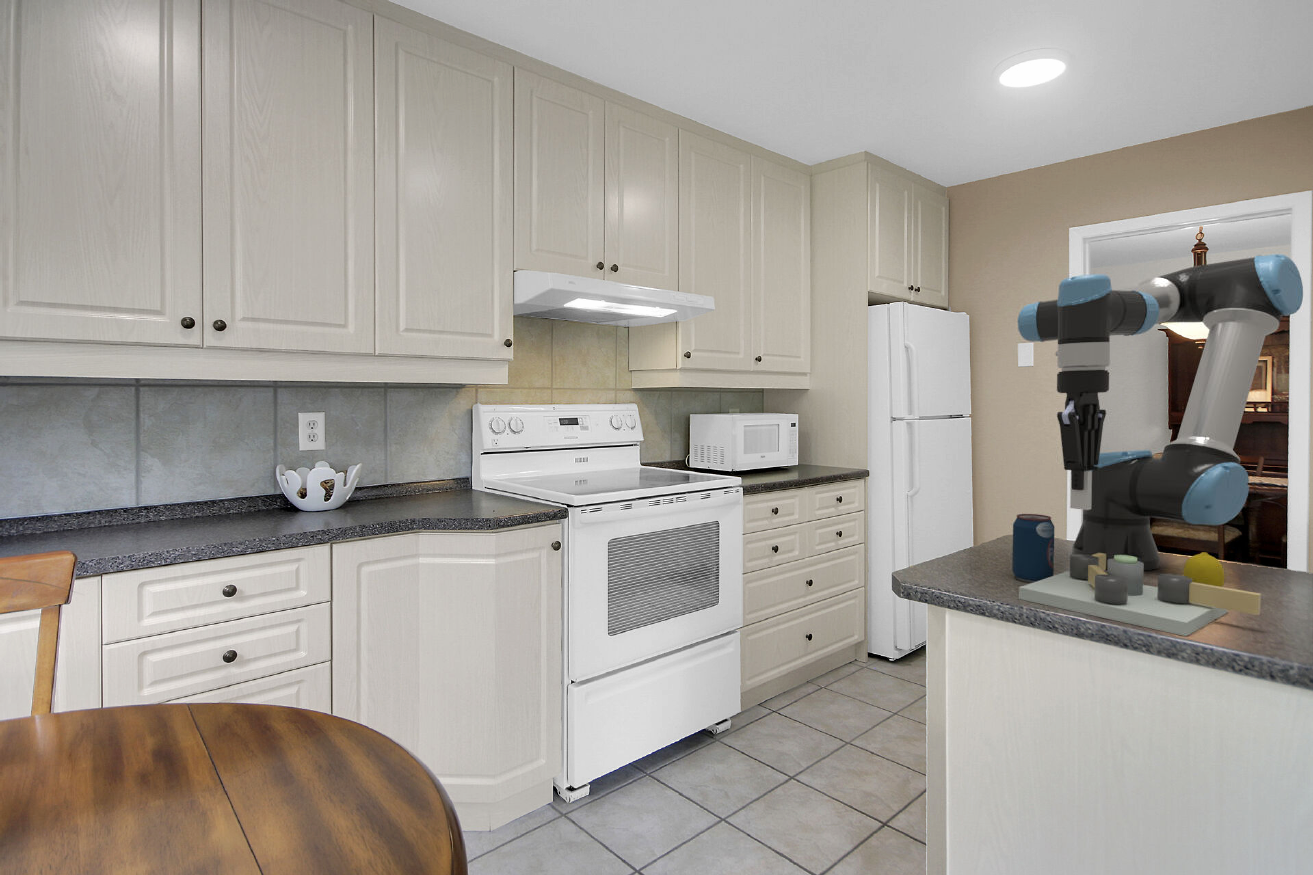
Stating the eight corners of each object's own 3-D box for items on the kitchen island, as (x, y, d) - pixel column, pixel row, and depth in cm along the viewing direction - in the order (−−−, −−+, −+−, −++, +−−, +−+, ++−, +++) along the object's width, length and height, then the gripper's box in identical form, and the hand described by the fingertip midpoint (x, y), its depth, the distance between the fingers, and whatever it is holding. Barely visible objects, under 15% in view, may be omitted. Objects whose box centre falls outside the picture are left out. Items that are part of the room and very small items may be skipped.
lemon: (1231, 604, 116) (1232, 556, 116) (1193, 602, 117) (1194, 555, 117) (1212, 595, 122) (1213, 549, 121) (1175, 593, 123) (1177, 548, 122)
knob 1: (1091, 580, 123) (1092, 561, 123) (1065, 575, 127) (1065, 556, 127) (1115, 572, 129) (1115, 553, 129) (1089, 567, 132) (1089, 549, 132)
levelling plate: (1067, 581, 131) (1068, 540, 131) (1227, 612, 112) (1229, 564, 112) (1018, 598, 121) (1019, 553, 120) (1186, 636, 101) (1187, 582, 101)
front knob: (1131, 604, 109) (1132, 582, 109) (1099, 602, 111) (1099, 580, 110) (1106, 583, 121) (1106, 563, 121) (1077, 581, 123) (1077, 561, 122)
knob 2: (1152, 598, 112) (1153, 576, 112) (1163, 593, 115) (1164, 572, 115) (1254, 618, 102) (1255, 594, 102) (1263, 612, 105) (1264, 589, 104)
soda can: (1059, 584, 130) (1061, 519, 129) (1019, 583, 131) (1020, 519, 130) (1044, 574, 137) (1046, 513, 136) (1006, 573, 138) (1007, 512, 137)
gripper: (1076, 370, 125) (1074, 501, 127) (1040, 370, 118) (1039, 510, 119) (1124, 368, 119) (1121, 506, 121) (1089, 368, 112) (1087, 516, 113)
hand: (1080, 508), depth 120 cm, fingers closed
